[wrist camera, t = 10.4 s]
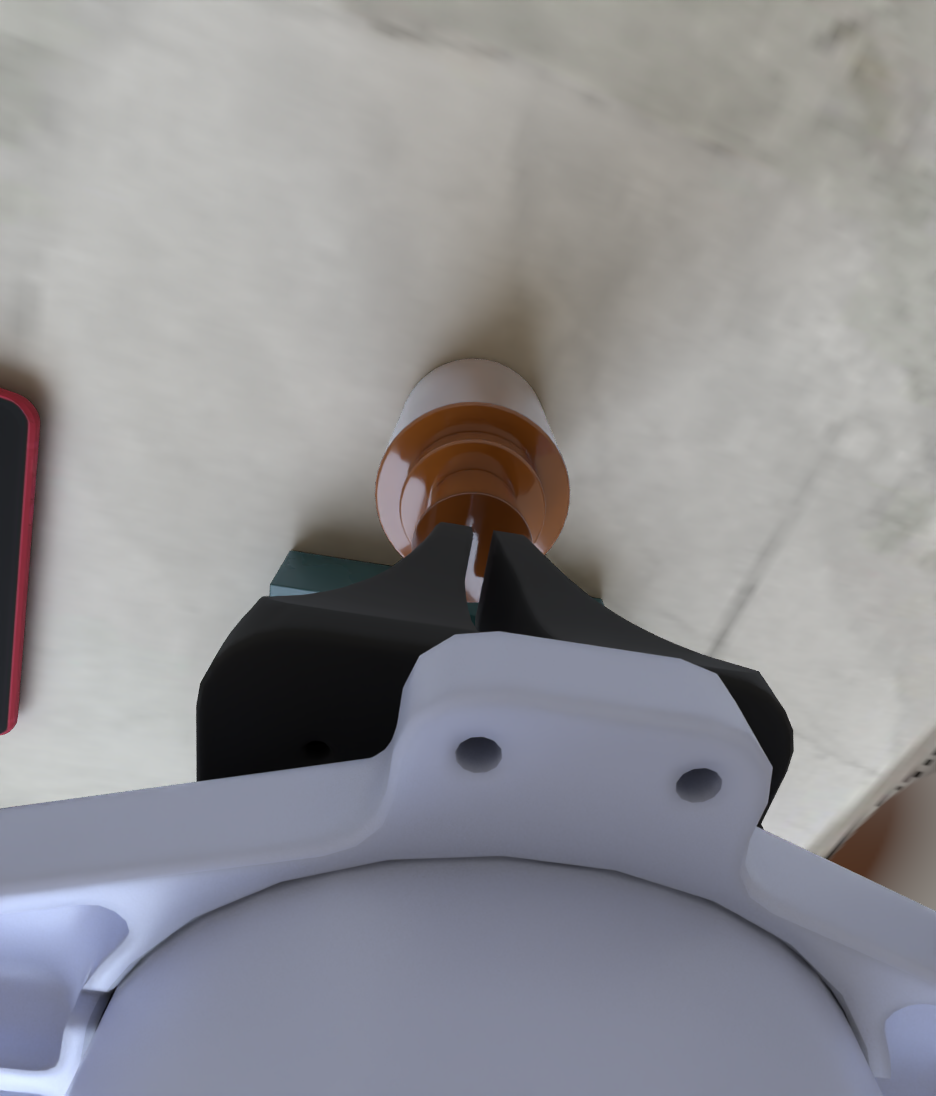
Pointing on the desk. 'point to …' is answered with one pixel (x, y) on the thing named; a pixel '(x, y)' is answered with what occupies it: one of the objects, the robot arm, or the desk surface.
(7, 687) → the smartphone
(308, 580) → the teal button housing
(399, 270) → the desk surface
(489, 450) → the bottle
